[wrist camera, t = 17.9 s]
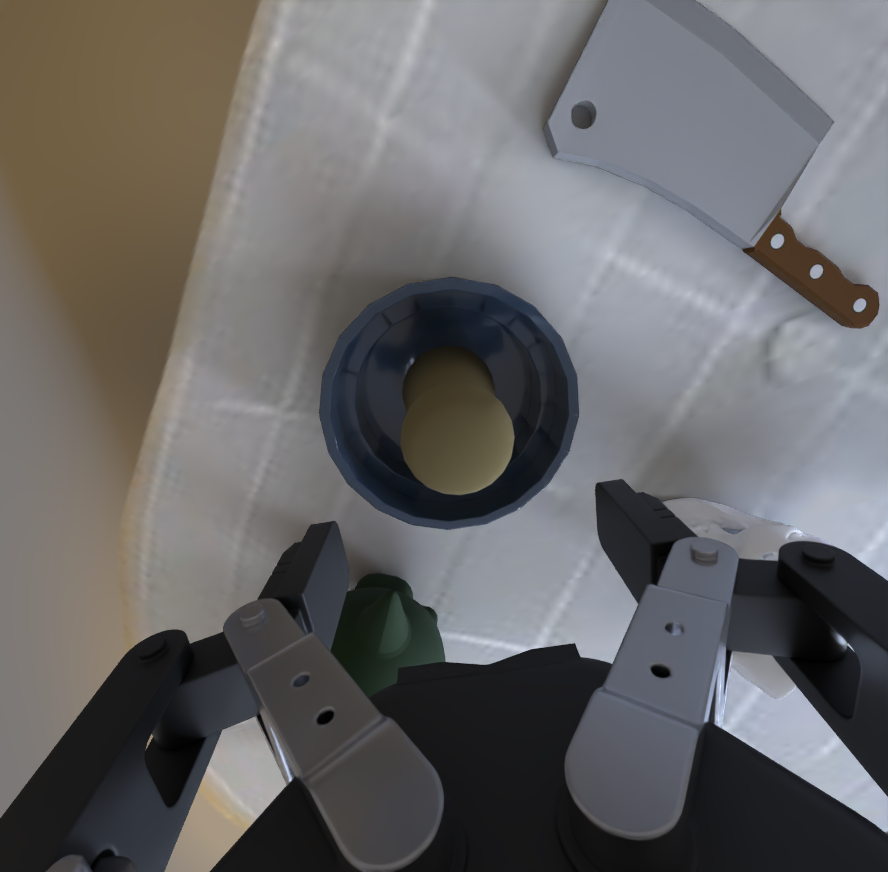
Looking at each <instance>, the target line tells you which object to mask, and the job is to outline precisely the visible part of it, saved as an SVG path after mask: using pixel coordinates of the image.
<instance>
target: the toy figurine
mask: <svg viewBox="0 0 888 872" xmlns="http://www.w3.org/2000/svg"><path fill="white" fill-rule="evenodd" d="M437 620H438V619H437V614H436V612H435V611H434V610H433V609H432V608H430V607H427V606H422V605H420V604H419V603H418V602H416V601H415V600H413V593H412V590H411V587H410V586H409V585H408V583H407V582H406V581H404V580H402V579H400V578H398V577H395V576H390V575H385V574H370V575H367V576H365V577H363V578H361V580H360V581H359V582H358V583H357V585H356V587H355V590H352V591H348V592H347V593H346V597H345V600H344V604H343V607H342V611H341V615H340V618H339V622H338V625H337V629H336V632H335V636H334V640H333V643H332V647H331V650H330V652H331V653H332V654H333V655H334V656H335V658H336V659H337V660H338V661H339V663H340V664H341V665H342V666H343V668H344V669H345V670H346V671H347V672H348V674H349V675H350V676H351V677H352V679H353V680H354V681H355V682H356V683H357V685H358V686H359V687H360V688H361V690H362V691H363V692H364V693H365V694H366V696H367V697H368V698H369V697H371V696H372V695H374V694H375V693H377V692H379V691H380V690H382V689H384V688H386V687H388V686H390V685H393V684H395V683H397V678H398V668H401V667H408V666H416V665H423V664H430V663H437V662H445V654H444V648H443V643H442V639H441V636H440V633H439V630H438V627H437Z"/></svg>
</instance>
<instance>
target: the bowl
mask: <svg viewBox="0 0 888 872" xmlns="http://www.w3.org/2000/svg"><path fill="white" fill-rule="evenodd" d="M443 346H454V347H462V348H464V349H466V350H469V351H471V352H473V353H475V354H476V355H477V356H478V357H479V358H480V359H481V360H483V361H484V362H485V363H486V365H487V367H488V369H489V370H490V372H491V374H492V376H493V382H494V387H495V397H496V398H497V399H498V400H499V401H501V403H502V404H503V405H504V407H505V409H506V411H507V413H508V415H509V416H510V418H511V420H512V425H513V431H514V437H515V438H514V444H513V450H512V456H511V459H510V461H509V463H508V464H507V466H506V468H505V470H504V472H503V473H502V474H501V475H500V476H499V477H498V478H497V479H496V480H495V481H494V482H493V483H492V484H490V485H489V486H487V487H485V488H483V489H481V490H479V491H477V492H473V493H468V494H463V495H454V494H443V493H441V492H438V491H436V490H433V489H431V488H428V487H427V486H426V485H424V484H423V483H422V482H421V481H419V480H418V479H417V478H416V477H415V476H414V474H413V473H412V471H411V470H410V468H409V467H408V465H407V464H406V462H405V460H404V457H403V453H402V449H401V445H400V440H401V428H402V423H403V421H404V418H405V416H406V414H407V411H406V408H405V404H404V400H403V396H402V392H403V381H404V378H405V376H406V374H407V371H408V369H409V367H410V366H411V365H412V364H413V363H414V361H415V360H416V359H417V358H418V357H419V356H421V355H422V354H424V353H426V352H427V351H429V350H431V349H434V348H438V347H443ZM319 414H320V415H319V416H320V421H321V425H322V429H323V433H324V437H325V441H326V445H327V449H328V452H329V455H330V456H331V458H332V459H333V461H334V463H335V464H336V466H337V468H338V469H339V471H340V472H341V474H342V476H343V477H344V479H345V480H346V482H347V484H348V485H349V486H350V487H351V488H353V489H354V490H355V491H356V492H357V493H358V494H360V495H361V496H362V497H363V498H364V499H365V500H367V501H368V502H369V503H370V504H371V505H372V506H374V507H375V508H376V509H378V510H379V511H381V512H384V513H386V514H388V515H390V516H393V517H395V518H397V519H399V520H402V521H404V522H406V523H408V524H412V525H416V526H423V527H431V528H438V529H446V530H448V529H449V530H450V529H457V528H464V527H471V526H478V525H484V524H488V523H490V522H492V521H494V520H497V519H499V518H501V517H503V516H506V515H508V514H510V513H512V512H514V511H517V510H519V508H521V507H523V506H524V505H525V504H526V503H527V502H528V501H530V500H531V499H532V498H533V497H534V496H535V495H537V494H538V493H539V492H540V491H541V490H542V489H544V488H545V487H546V486H547V485H548V484H549V483H550V481H551V480H552V478H553V476H554V475H555V473H556V472H557V470H558V469H559V467H560V466H561V464H562V462H563V461H564V459H565V458H566V456H567V455H568V452H569V451H570V447H571V443H572V440H573V436H574V432H575V429H576V425H577V421H578V418H579V402H578V383H577V374H576V371H575V369H574V366H573V364H572V361H571V359H570V357H569V354H568V352H567V349H566V347H565V344H564V342H563V339H562V338H561V336H560V335H559V334H558V333H557V332H556V330H555V329H554V328H553V327H552V326H551V325H550V324H549V322H548V321H547V320H546V319H545V318H544V317H543V316H542V314H541V313H540V312H539V311H538V310H537V309H536V308H535V307H534V306H533V305H531V304H530V303H528V302H526V301H524V300H522V299H521V298H519V297H517V296H515V295H514V294H512V293H510V292H508V291H507V290H505V289H503V288H501V287H499V286H498V285H495V284H489V283H484V282H478V281H473V280H467V279H462V278H456V277H448V278H442V279H436V280H429V281H423V282H416V283H410V284H407V285H405V286H403V287H401V288H399V289H397V290H396V291H394V292H392V293H390V294H388V295H386V296H384V297H382V298H380V299H378V300H377V301H375V302H373V303H371V304H370V305H368V306H367V307H366V308H365V309H364V310H363V311H362V313H361V314H360V315H359V316H358V317H357V318H356V319H355V320H354V321H353V322H352V323H351V324H350V325H349V326H348V327H347V329H346V330H345V331H344V332H343V333H342V334H341V335H340V337H339V338H338V341H337V343H336V345H335V347H334V350H333V352H332V354H331V356H330V358H329V361H328V363H327V365H326V367H325V370H324V372H323V375H322V386H321V397H320V409H319Z"/></svg>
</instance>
